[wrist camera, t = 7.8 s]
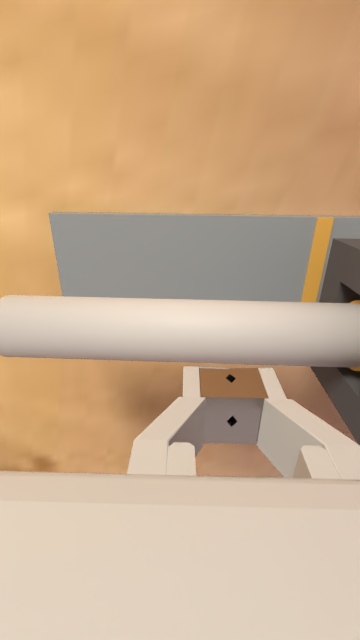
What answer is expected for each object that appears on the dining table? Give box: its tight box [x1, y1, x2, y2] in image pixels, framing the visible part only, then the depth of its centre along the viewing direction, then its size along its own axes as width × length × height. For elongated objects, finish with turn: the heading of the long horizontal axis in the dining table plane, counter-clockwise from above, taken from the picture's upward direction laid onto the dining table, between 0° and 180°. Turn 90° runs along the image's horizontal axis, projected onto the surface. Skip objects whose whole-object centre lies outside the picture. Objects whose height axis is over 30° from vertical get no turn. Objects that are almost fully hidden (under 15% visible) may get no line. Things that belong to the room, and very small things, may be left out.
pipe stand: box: [0, 212, 360, 371], centre depth 16 cm, size 25×9×12 cm, turn 89°
